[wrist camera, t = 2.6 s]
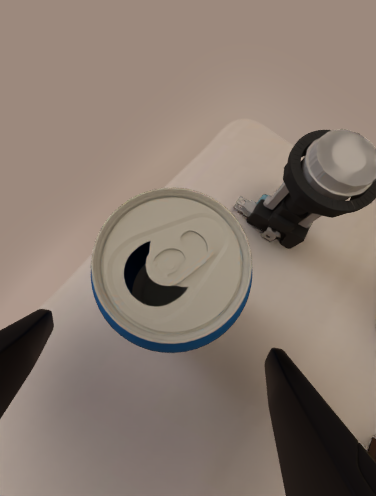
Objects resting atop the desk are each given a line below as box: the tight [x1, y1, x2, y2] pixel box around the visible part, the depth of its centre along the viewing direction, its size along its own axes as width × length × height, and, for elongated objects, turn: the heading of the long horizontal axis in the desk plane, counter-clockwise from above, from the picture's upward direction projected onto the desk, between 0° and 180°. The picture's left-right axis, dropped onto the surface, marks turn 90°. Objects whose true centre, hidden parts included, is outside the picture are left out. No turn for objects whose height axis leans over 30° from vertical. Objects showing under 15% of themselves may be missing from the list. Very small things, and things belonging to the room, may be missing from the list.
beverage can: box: [91, 188, 252, 353], centre depth 14 cm, size 6×6×12 cm
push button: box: [234, 129, 376, 248], centre depth 17 cm, size 7×5×10 cm
